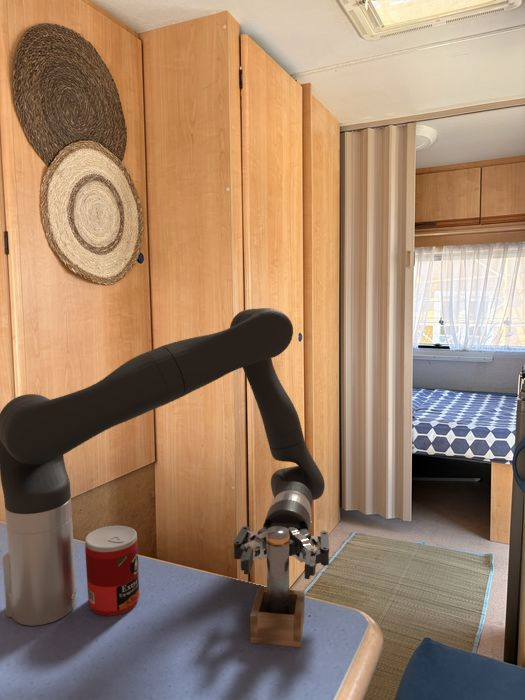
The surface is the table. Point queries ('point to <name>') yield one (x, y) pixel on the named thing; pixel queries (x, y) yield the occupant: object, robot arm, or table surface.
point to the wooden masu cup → (278, 621)
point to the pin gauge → (277, 570)
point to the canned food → (112, 569)
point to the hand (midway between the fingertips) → (276, 570)
